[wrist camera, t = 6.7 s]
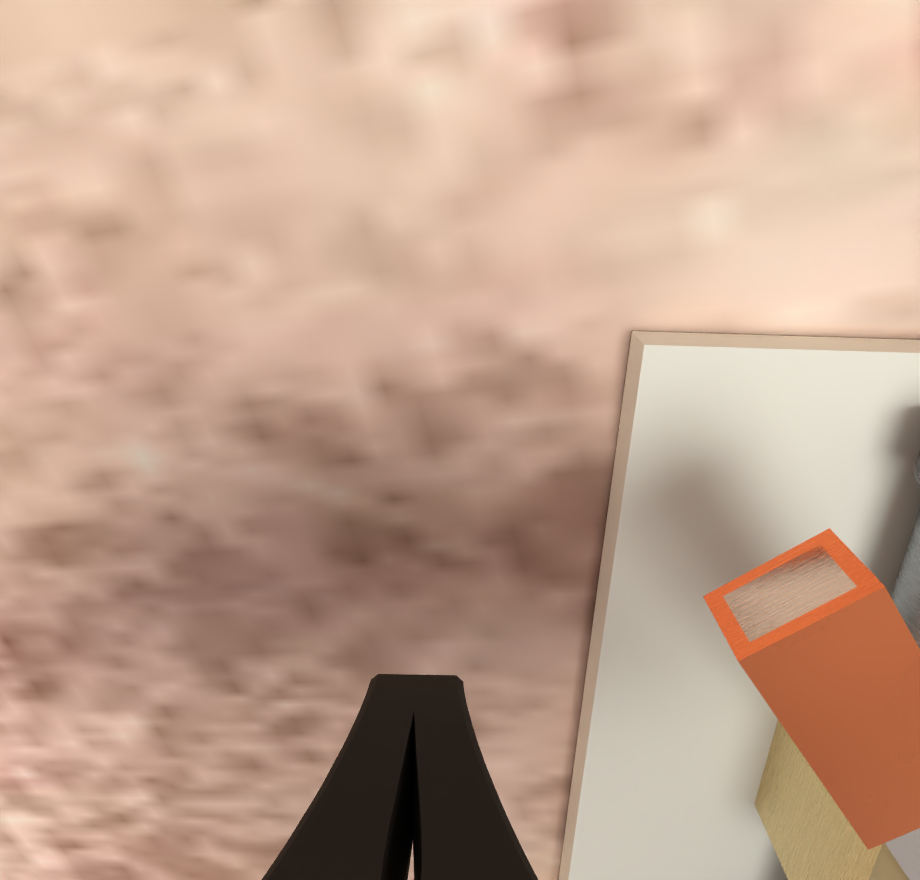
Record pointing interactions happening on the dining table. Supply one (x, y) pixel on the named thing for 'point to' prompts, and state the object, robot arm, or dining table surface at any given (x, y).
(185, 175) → the dining table surface
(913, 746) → the valve lever
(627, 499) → the valve board
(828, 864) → the pipe and valve
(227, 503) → the dining table surface
